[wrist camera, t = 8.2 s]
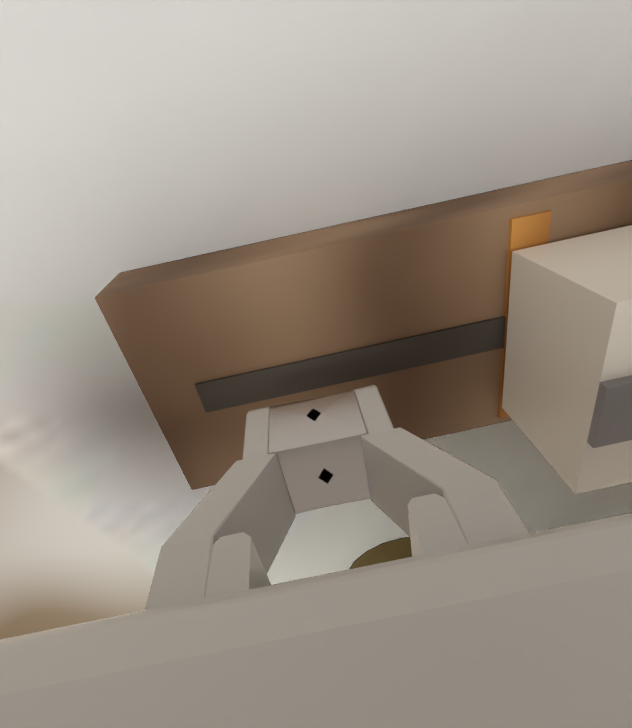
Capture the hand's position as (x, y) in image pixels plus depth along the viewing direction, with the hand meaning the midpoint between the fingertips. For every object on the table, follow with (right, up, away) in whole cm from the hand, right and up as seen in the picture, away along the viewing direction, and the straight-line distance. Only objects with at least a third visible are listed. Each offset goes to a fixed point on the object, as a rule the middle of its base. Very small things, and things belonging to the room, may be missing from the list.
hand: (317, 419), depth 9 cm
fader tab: (+7, +2, +2) cm, 8 cm away
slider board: (+3, +3, +4) cm, 6 cm away
